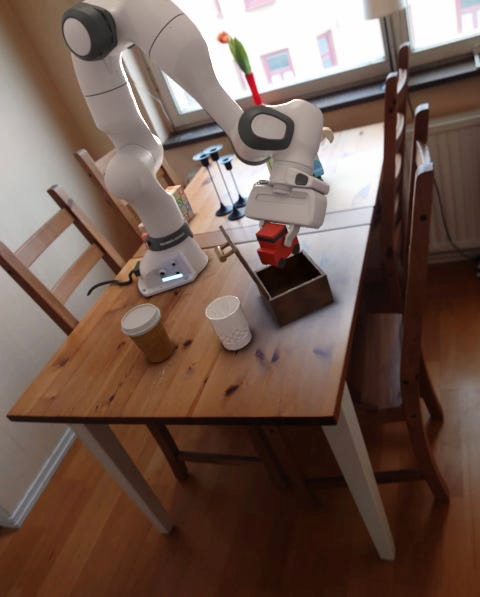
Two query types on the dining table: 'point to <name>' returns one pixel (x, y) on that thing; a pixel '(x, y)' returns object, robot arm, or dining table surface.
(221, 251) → the chest lid
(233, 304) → the white cup
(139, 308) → the disposable coffee cup
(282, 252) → the red stepped block
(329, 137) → the toy excavator
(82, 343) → the dining table surface
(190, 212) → the printed cardboard box
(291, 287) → the toy chest
